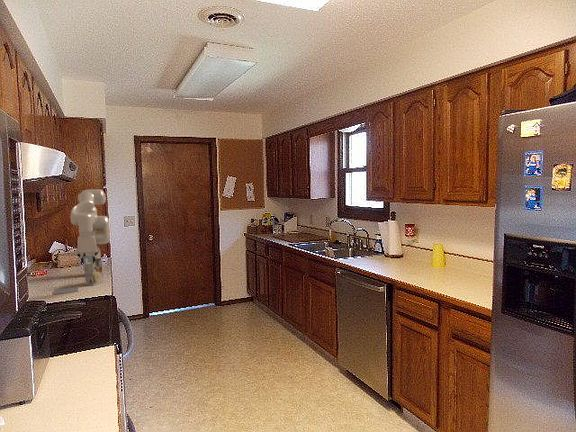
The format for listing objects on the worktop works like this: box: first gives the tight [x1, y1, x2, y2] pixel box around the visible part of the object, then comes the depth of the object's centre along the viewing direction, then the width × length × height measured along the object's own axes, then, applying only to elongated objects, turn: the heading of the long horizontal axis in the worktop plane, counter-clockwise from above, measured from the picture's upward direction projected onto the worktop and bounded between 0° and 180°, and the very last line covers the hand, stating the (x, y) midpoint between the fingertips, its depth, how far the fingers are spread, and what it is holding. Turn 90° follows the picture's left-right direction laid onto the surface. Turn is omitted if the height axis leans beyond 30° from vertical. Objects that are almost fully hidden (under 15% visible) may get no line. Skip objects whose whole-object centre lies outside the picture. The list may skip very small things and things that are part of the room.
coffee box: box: [83, 258, 104, 286], centre depth 255 cm, size 9×6×16 cm
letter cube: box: [83, 255, 93, 267], centre depth 237 cm, size 5×5×5 cm
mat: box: [52, 285, 79, 296], centre depth 239 cm, size 13×13×1 cm
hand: (88, 263), depth 237 cm, fingers closed on letter cube, 5 cm apart
